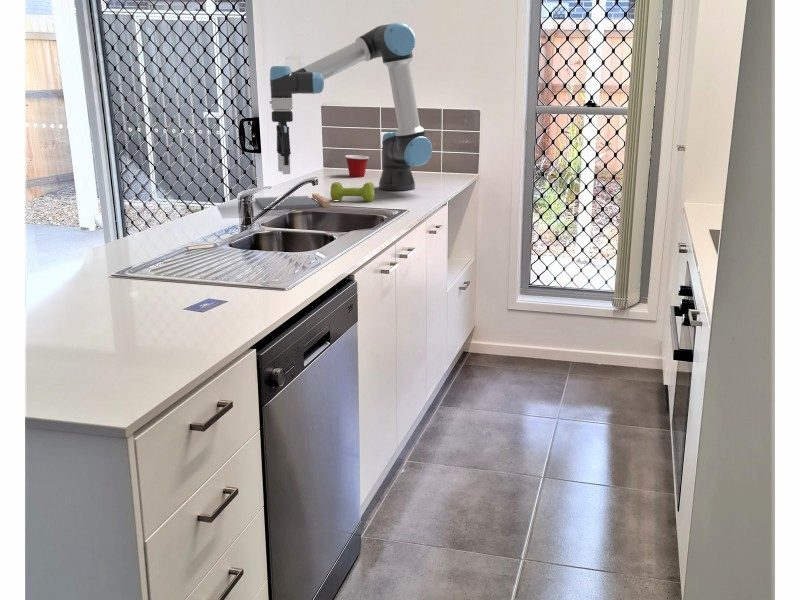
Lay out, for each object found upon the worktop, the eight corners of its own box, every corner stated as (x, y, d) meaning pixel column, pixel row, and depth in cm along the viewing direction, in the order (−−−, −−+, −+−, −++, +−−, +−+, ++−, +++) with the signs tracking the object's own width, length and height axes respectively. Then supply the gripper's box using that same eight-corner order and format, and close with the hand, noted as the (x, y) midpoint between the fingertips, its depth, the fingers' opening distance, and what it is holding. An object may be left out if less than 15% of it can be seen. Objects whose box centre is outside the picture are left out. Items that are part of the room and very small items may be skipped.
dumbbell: (375, 200, 302) (375, 181, 300) (372, 203, 294) (372, 183, 292) (333, 199, 304) (333, 181, 302) (329, 202, 296) (328, 183, 294)
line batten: (317, 198, 307) (317, 193, 306) (329, 206, 285) (329, 201, 284) (312, 198, 306) (312, 193, 306) (324, 207, 284) (323, 201, 283)
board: (307, 198, 306) (307, 195, 305) (318, 207, 283) (318, 204, 283) (255, 201, 300) (255, 198, 300) (263, 210, 278) (262, 206, 278)
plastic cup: (363, 183, 353) (362, 156, 350) (341, 183, 357) (341, 156, 354) (373, 181, 363) (372, 155, 359) (352, 180, 367) (351, 154, 364)
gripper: (267, 110, 292) (270, 170, 298) (275, 111, 272) (278, 176, 277) (287, 109, 295) (289, 169, 300) (297, 111, 274) (299, 175, 279)
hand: (284, 172), depth 289 cm, fingers open, 10 cm apart
